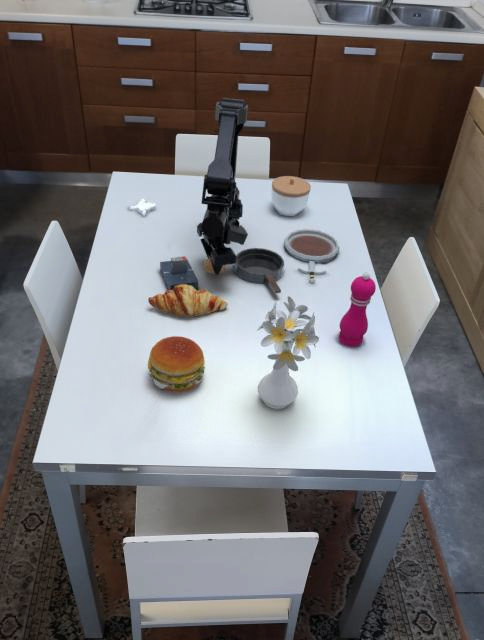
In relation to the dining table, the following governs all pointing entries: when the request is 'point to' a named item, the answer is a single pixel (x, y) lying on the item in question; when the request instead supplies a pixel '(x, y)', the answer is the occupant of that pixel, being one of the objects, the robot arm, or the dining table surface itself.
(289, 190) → the lidded bowl
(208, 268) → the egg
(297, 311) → the flower vase
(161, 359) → the burger
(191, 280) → the hob control
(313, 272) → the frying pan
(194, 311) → the croissant
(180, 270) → the hob knob
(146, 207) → the acanthus leaf ornament
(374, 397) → the dining table surface
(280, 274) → the egg pan
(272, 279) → the egg pan handle
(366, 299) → the pepper mill
